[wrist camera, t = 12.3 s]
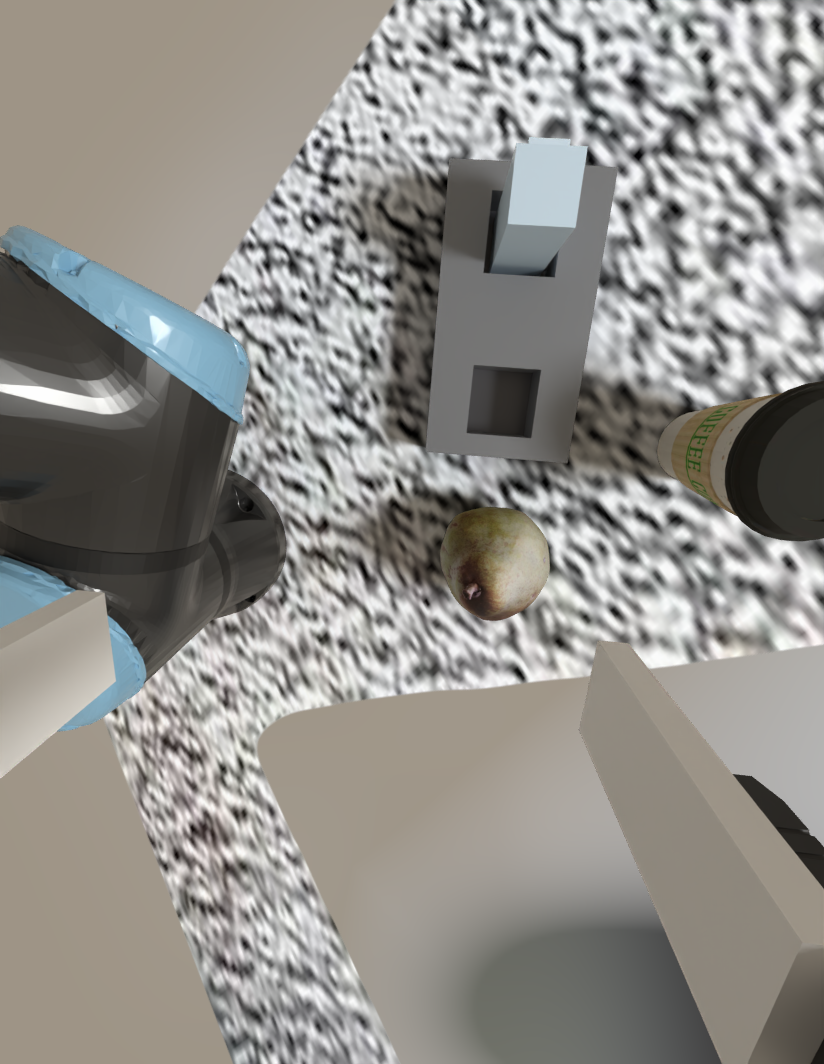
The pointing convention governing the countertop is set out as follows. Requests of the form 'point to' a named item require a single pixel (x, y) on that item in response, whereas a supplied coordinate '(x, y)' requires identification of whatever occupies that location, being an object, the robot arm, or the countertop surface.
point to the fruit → (494, 561)
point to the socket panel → (511, 325)
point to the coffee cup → (756, 460)
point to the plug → (537, 205)
